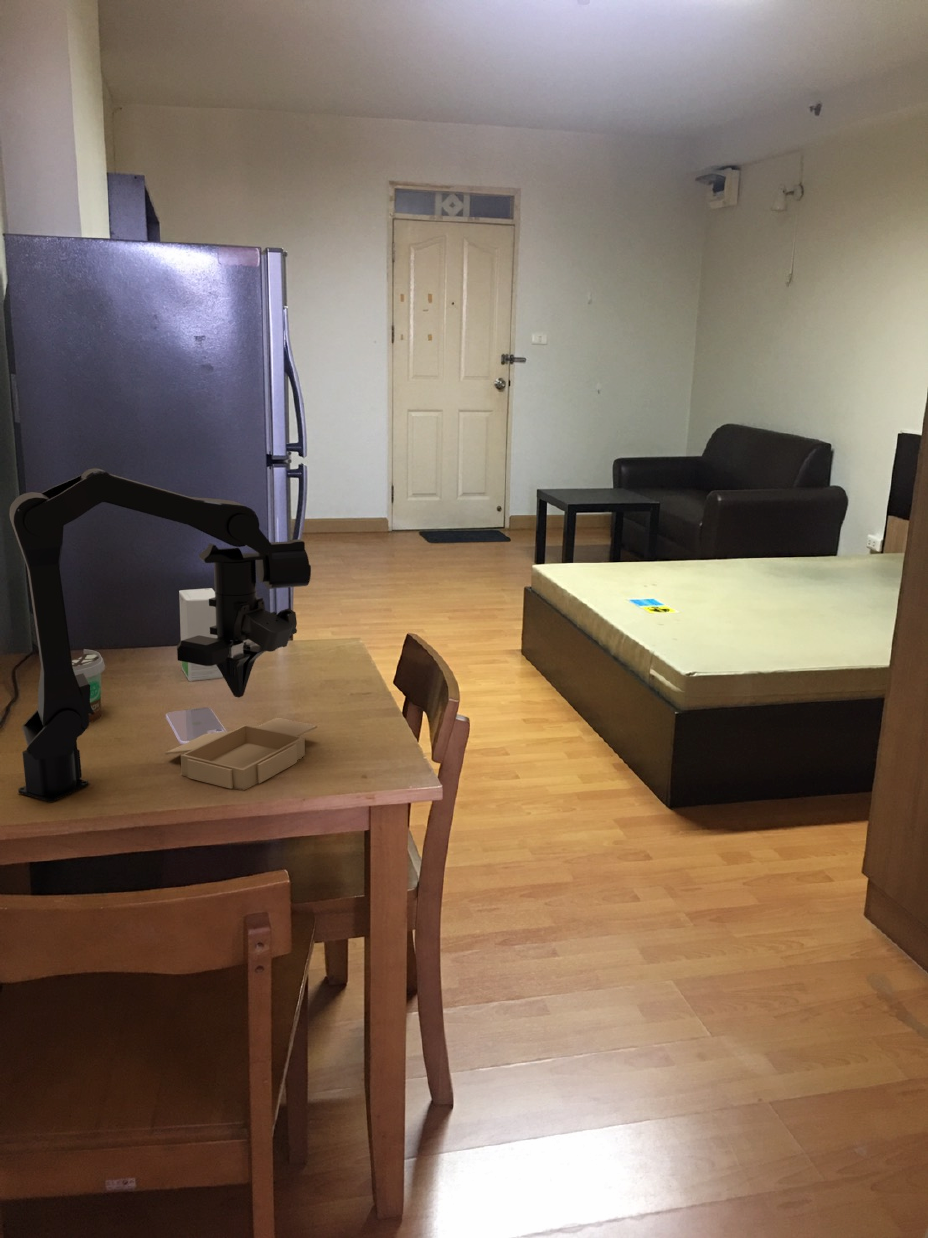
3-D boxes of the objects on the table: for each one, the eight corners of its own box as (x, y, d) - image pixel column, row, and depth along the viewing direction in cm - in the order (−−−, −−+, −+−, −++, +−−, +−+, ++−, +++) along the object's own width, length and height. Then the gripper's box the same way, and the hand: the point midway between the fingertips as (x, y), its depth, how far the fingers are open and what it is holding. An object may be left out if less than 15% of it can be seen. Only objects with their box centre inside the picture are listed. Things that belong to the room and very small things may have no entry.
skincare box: (181, 669, 184) (176, 589, 180) (216, 666, 187) (212, 587, 183) (189, 682, 177) (184, 599, 173) (225, 678, 180) (221, 596, 176)
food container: (81, 733, 151) (76, 672, 149) (45, 730, 152) (40, 669, 150) (123, 708, 163) (119, 650, 160) (90, 705, 164) (85, 648, 162)
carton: (244, 793, 131) (243, 772, 130) (178, 776, 136) (177, 756, 135) (307, 757, 143) (307, 738, 143) (245, 743, 148) (245, 724, 148)
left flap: (192, 749, 138) (165, 752, 141) (193, 751, 138) (165, 754, 141) (232, 730, 145) (205, 733, 148) (232, 732, 145) (206, 735, 148)
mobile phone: (210, 705, 163) (230, 734, 150) (210, 710, 163) (231, 740, 150) (164, 711, 160) (180, 741, 147) (164, 716, 160) (181, 747, 147)
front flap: (296, 735, 144) (317, 725, 149) (255, 726, 147) (277, 717, 152) (296, 737, 144) (317, 727, 149) (255, 728, 147) (277, 719, 152)
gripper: (237, 611, 125) (240, 725, 129) (321, 586, 141) (321, 688, 145) (171, 600, 130) (176, 711, 134) (260, 578, 146) (262, 677, 150)
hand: (238, 696), depth 140 cm, fingers closed
